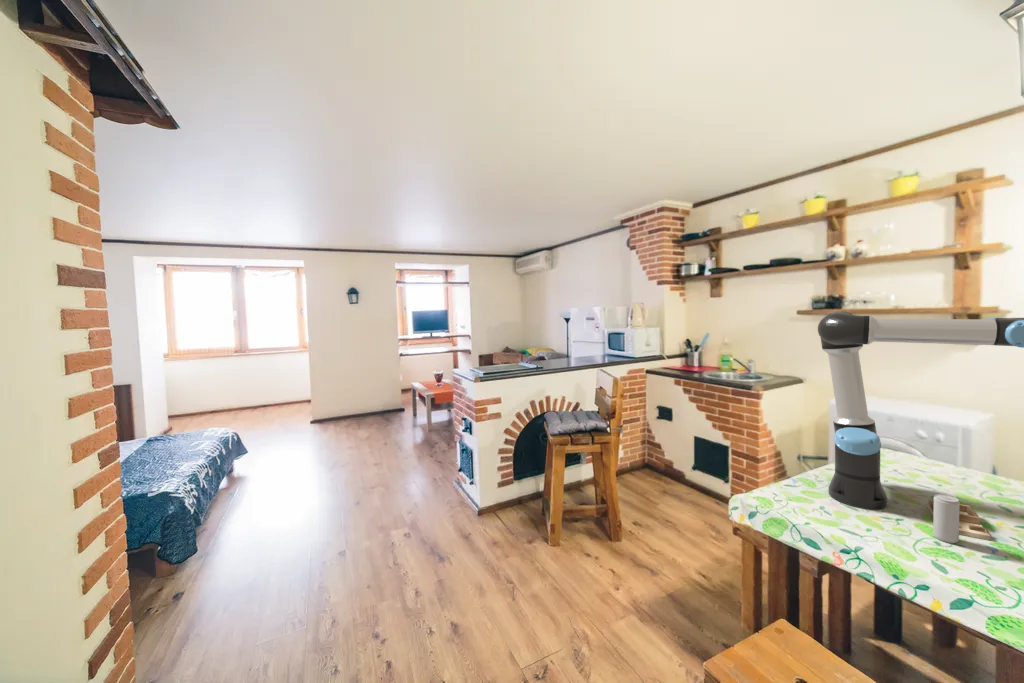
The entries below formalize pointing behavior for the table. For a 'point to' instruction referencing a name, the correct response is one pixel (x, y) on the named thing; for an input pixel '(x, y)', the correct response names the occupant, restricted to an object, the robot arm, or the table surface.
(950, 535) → the beverage can
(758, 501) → the table surface
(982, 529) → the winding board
